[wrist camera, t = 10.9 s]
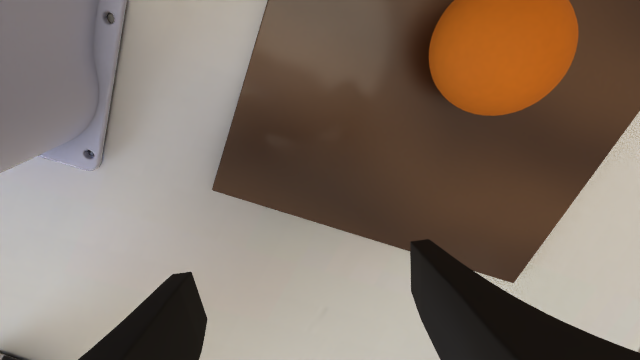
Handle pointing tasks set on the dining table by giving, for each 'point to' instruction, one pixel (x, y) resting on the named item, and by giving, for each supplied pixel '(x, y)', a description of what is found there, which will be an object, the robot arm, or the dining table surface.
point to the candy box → (6, 357)
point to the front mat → (421, 130)
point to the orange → (502, 52)
